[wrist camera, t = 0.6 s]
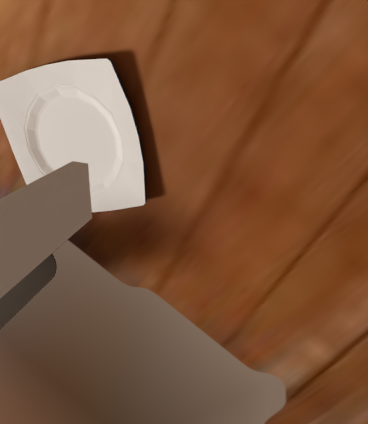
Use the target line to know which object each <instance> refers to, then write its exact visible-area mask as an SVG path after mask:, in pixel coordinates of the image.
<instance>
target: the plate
mask: <svg viewBox="0 0 368 424" xmlns="http://www.w3.org/2000/svg"><path fill="white" fill-rule="evenodd" d="M0 119H1V121H2V124H3V127H4V129H5V132H6V134H7V137H8V140H9V142H10V145H11V148H12V150H13V153H14V155H15V158H16V160H17V163H18V165H19V168H20V170H21V172H22V175H23V177H24V180H25V182H26V185H28V184H30V183H32V182H34V181H35V180H37V179H39V178H41V177H43V176H45V175H47V174H49V173H51V172H53V171H55V170H57V169H58V168H60V167H62V166H64V165H66V164H68V163H70V162H72V161H75V162H81V163H88V169H89V182H90V195H91V208H92V212H101V211H112V210H118V209H124V208H130V207H136V206H142V205H144V204H145V203H146V202H147V201H146V184H145V167H144V158H143V153H142V147H141V142H140V136H139V132H138V129H137V125H136V122H135V118H134V115H133V111H132V108H131V105H130V103H129V100H128V98H127V96H126V93H125V91H124V88H123V86H122V84H121V81H120V79H119V76H118V74H117V72H116V69H115V67H114V64H113V62H112V61H111V60H110V59H109V58H103V59H86V60H70V61H64V62H59V63H53V64H48V65H44V66H40V67H37V68H34V69H30V70H27V71H24V72H21V73H19V74H17V75H14V76H12V77H10V78H7V79H5V80H2V81H0Z"/></svg>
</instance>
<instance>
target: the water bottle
mask: <svg viewBox="0 0 368 424" xmlns="http://www.w3.org/2000/svg"><path fill="white" fill-rule="evenodd" d="M55 273H56V261H55V258H54V256H53V254H51V255H49V256H48V257H47V258H46V259H45V260H44V261H43V262H41V263H40V264H39V265H38V266H37V267H36V268H35V269H33V270H32V271H31V272H30V273H29V274H28V275H27V276H25V277H24V278H23V279H22V280H21V281H20V282H19V283H17V284H16V285H15V286H14V287H13V288H12V289H11V290H9V291H8V292H7V293H6V294H5V295H4V296H3V297H1V298H0V329H1V328H2V327H3V326H4V325H5V324H6V323H7V322H8V321H10V319H12V318H13V317H14V316H15V315H16V314H17V313H18V312H19V310H21V309H22V308H23V307H24V306H25V305H26V304H27V303H28V302H29V301H30V300H31V299H32V298H33V297H34V296H35V295H36V294H37V293H38V292H39V291H40V290H41V289H42V288H43V287H44V286H45V285H47V284H48V283H49V281H51V280H52V278H53V277H54V275H55Z"/></svg>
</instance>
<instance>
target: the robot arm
mask: <svg viewBox="0 0 368 424" xmlns="http://www.w3.org/2000/svg"><path fill="white" fill-rule="evenodd" d="M90 219H92V208H91V195H90V182H89V169H88V163H81V162H75V161H72V162H70V163H68V164H66V165H64V166H62V167H60V168H58V169H57V170H55V171H53V172H51V173H49V174H47V175H45V176H43V177H41V178H39V179H37V180H35V181H34V182H32V183H30V184H28V185H26V186H24V187H22V188H20V189H18V190H16V191H14V192H12V193H11V194H9V195H7V196H5V197H3V198H1V199H0V298H1V297H3V296H4V295H5V294H6V293H7V292H8V291H9V290H11V289H12V288H13V287H14V286H15V285H16V284H17V283H19V282H20V281H21V280H22V279H23V278H24V277H25V276H27V275H28V274H29V273H30V272H31V271H32V270H33V269H35V268H36V267H37V266H38V265H39V264H40V263H41V262H43V261H44V260H45V259H46V258H47V257H48V256H49V255H51V254H52V253H53V252H54V251H55V250H56V249H57V248H58V247H60V246H61V245H62V244H63V243H64V242H65V241H67V240H68V239H69V238H70V237H71V236H72V235H73V234H75V233H76V232H77V231H78V230H79V229H80V228H81V227H82V226H84V225H85V224H86V223H87V222H88V221H89V220H90Z"/></svg>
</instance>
